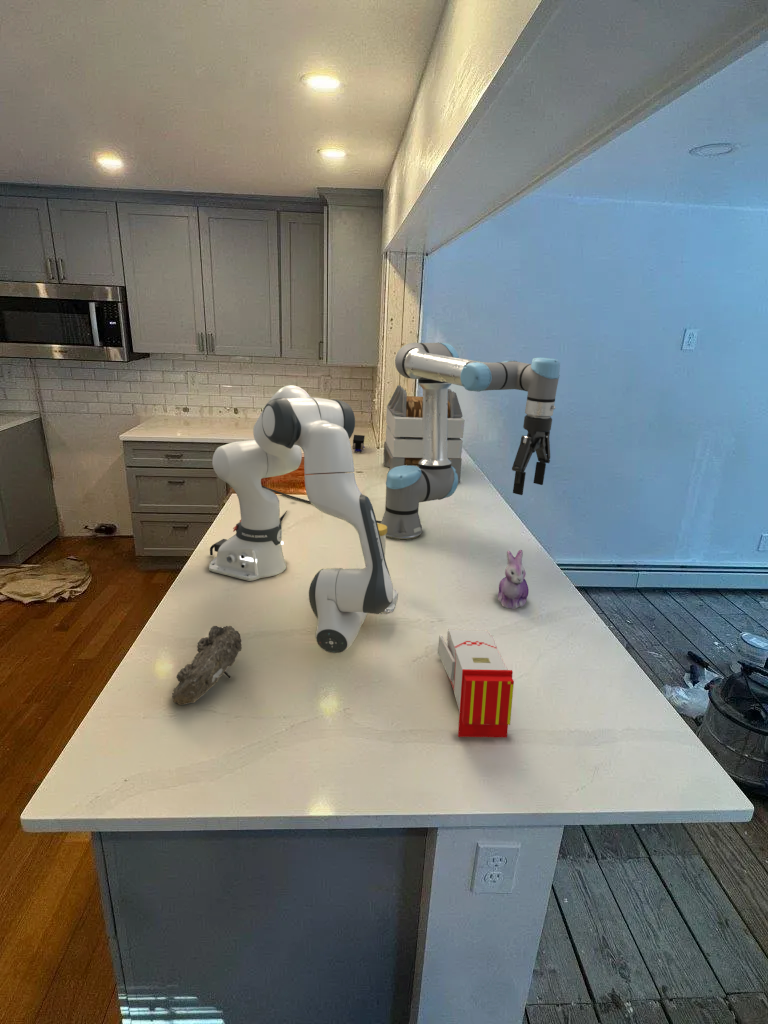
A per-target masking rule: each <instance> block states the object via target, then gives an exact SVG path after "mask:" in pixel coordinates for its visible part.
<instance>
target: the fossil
mask: <svg viewBox="0 0 768 1024" xmlns="http://www.w3.org/2000/svg"><path fill="white" fill-rule="evenodd" d="M242 645H243V644H242V638H241V633H240V631H239V630H236V629H235V628H234V627H233V626H232V625H225V626H223V627H222V626H218V625H213V626H212V627H210V630H209V631H208V637H207V636H205V637H201V638H200V639H199V640H198V642H197V645H196V649H197V650H196V651H197V653H196V654H195V656H194V658H193V659H192V662H191V663H187V664H185V666H184V667H182V668H180V670H179V671H178V673H177V675H176V679H177V681H178V684H177V685H176V686H175V687H174V688H173V690H172V693H171V694H172V702H173V703H175V704H178V705H180V706H182V705H187V704H191V703H192V704H195V703H196V702H197V701H198V700H199V699H200V698H201V697H202V696H204V695H205V694H207V692H208V691H209V690H210V689H211V688H212V687H213V686H215V685H216V684H217V683H218V681H219V679H220V677H223V675H225V676H226V677H227V678H228V679H231V678H232V676H231V675H230V674H229V673H228V671H227V669H228V668H229V667H231V666H232V665H233V664H234V663H235V661H236V659H237V657H238V655H239V653H240V652H241V651H242V649H243V648H242V647H243V646H242Z"/></svg>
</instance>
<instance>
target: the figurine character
mask: <svg viewBox="0 0 768 1024" xmlns="http://www.w3.org/2000/svg"><path fill="white" fill-rule="evenodd" d="M351 448H352V450H354V453H357V452H359V453H360V454H361V453H362V450H364V449H365V435H361V434H353V439H352V446H351Z"/></svg>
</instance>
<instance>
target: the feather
mask: <svg viewBox="0 0 768 1024" xmlns="http://www.w3.org/2000/svg"><path fill="white" fill-rule="evenodd" d="M287 512H288V510H286V511H285V512H284V513H283V514H282V515H281V516H280V522H281V523H282V522H283V519H284V518H285V516H286V514H287Z"/></svg>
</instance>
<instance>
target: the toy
mask: <svg viewBox="0 0 768 1024" xmlns="http://www.w3.org/2000/svg"><path fill="white" fill-rule="evenodd" d="M446 640H447V643H446V641H445V639H444V636H443V635H442V634H439V637H438V646H437V656H438V657H439V659H440V661H441V663H442V666H443V668H444V670H445V672H446V674H447V677H448V679H449V681H450V684H451V687H452V690H453V693H454V697H455V701H456V705H457V708H458V711H459V714H458V715H459V716H458V730H457V731H458V732H457V737H458V738H508V731H509V726H510V725H511V717H512V707H513V697H514V696H513V695H514V684H515V680H514V679H513V673H514V671H513V670H512V669H508V667H507V665H506V662H505V661H504V659H503V658H502V655H501V653H500V651H499V649H498V647H497V643H496V639H495V637H494V635H493V634H491V632H490V631H489V629H467V628H466V629H465V628H463V629H461V628H460V629H459V628H448V630H447V639H446Z"/></svg>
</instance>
